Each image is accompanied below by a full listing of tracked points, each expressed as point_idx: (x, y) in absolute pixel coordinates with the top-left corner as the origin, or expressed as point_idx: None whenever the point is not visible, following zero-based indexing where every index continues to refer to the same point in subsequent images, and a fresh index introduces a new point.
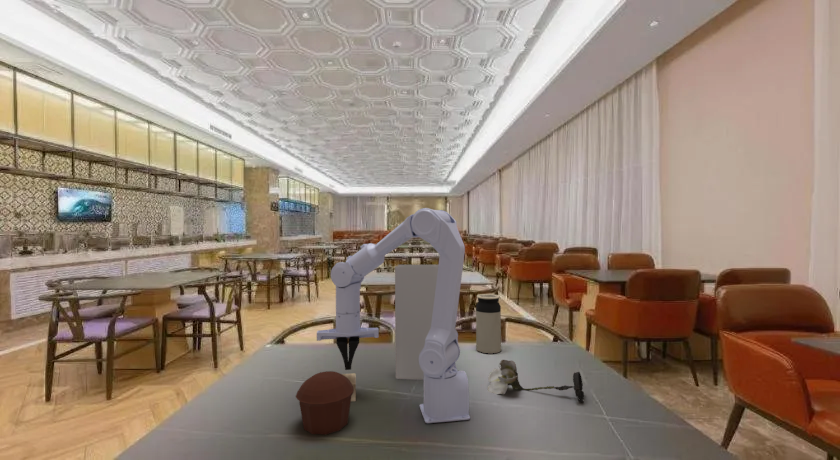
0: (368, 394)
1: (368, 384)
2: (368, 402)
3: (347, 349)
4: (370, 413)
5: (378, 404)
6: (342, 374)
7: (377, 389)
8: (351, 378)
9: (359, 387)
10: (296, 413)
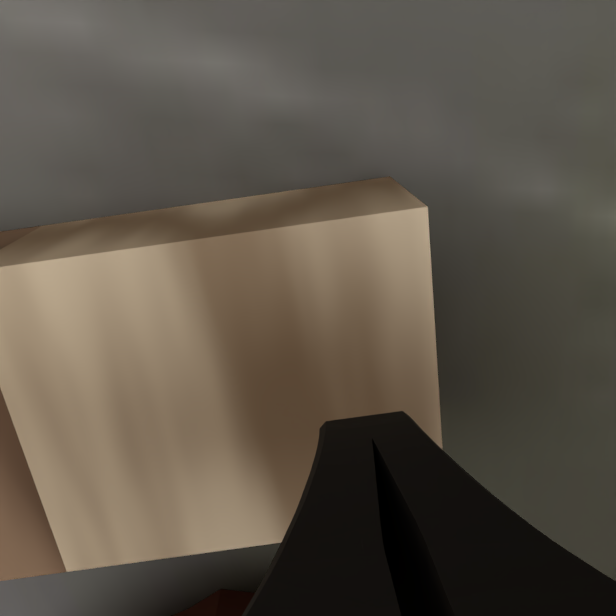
0: (516, 308)
1: (522, 58)
2: (512, 448)
3: (397, 612)
4: None
5: (586, 478)
6: (251, 245)
7: (607, 200)
8: (388, 375)
9: (426, 141)
10: (12, 588)
